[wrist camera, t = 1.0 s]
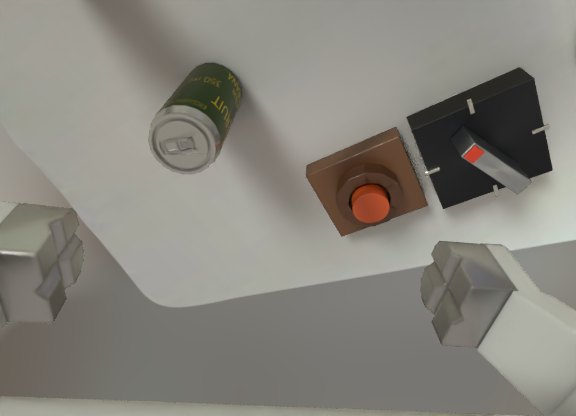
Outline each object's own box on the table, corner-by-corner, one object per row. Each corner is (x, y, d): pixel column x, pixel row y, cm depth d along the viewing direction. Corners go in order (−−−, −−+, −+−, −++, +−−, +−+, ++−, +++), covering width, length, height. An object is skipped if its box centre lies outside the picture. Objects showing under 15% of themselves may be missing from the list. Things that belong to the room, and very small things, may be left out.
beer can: (197, 118, 41) (160, 181, 32) (180, 65, 38) (133, 116, 29) (248, 110, 41) (226, 172, 31) (235, 55, 38) (206, 105, 28)
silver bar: (517, 162, 39) (534, 183, 36) (503, 174, 40) (519, 196, 37) (463, 125, 37) (475, 144, 34) (450, 138, 38) (461, 158, 35)
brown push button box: (395, 126, 41) (402, 144, 37) (423, 194, 45) (432, 215, 42) (306, 165, 44) (305, 185, 41) (340, 225, 48) (342, 247, 45)
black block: (522, 59, 36) (538, 70, 34) (543, 158, 42) (558, 174, 39) (400, 113, 40) (406, 127, 37) (435, 198, 45) (442, 215, 43)
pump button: (379, 178, 40) (381, 188, 39) (392, 205, 42) (395, 215, 40) (345, 191, 41) (346, 201, 40) (359, 217, 43) (360, 228, 42)
